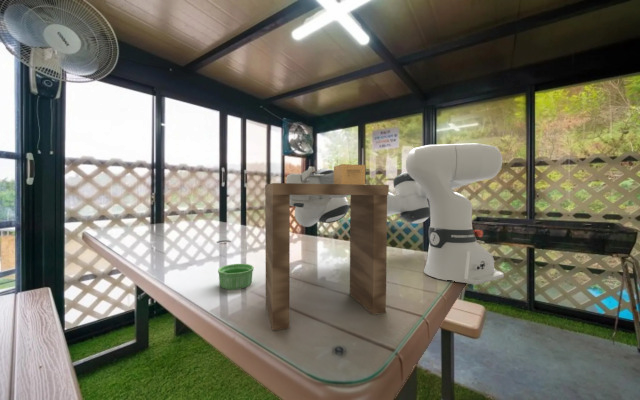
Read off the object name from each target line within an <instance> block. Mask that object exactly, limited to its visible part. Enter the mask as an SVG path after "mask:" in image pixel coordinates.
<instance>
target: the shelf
mask: <svg viewBox="0 0 640 400" xmlns="http://www.w3.org/2000/svg"><path fill="white" fill-rule="evenodd" d="M389 188H390V186H389V184H366V185H355V184H297V183H286V182H284V183H283V182H271V183H267V184H265V187H264V189H265V190H264V191H265V192H264V193H265V307H266V308H265V309H266V311H267V315H268V319H269V323H270V326H271V330H272V331H273V332H275V331H279V330H284V329H285V330H286V329H290V275H291V274H290V273H291V272H290V265H291V264H290V256H291V254H290V253H291V252H290V251H291V250H290V246H291V245H290V243H291V242H290V240H291V238H290V237H291V235H290V228H291V225H290V224H291V223H290V219H291V217H290V215H291V213H290V211H291V210H290V209H291V208H290V207H291V206H290V195H349V196H350V197H349V198H350V199H349V200H350V204H349V206H350V208H349V213H350V214H349V215H350V216H349V217H350V218H349V222H350V225H349V230H350V231H349V295H350V296H351V297H352V298H354V299H355V300H356V301H357V302H358V303H359V304H360V305H361V306H363V307H364V308H365V309H366V310H367V311H368V312H369V313H370V314H372V315H378V314H383V313H385V314H386V313H387V245H388V244H387V242H388V241H387V240H388V239H387V238H388V232H387V231H388V217H387V195H389V193H390V191H389V190H390V189H389Z"/></svg>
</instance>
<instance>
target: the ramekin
mask: <svg viewBox="0 0 640 400" xmlns="http://www.w3.org/2000/svg"><path fill="white" fill-rule="evenodd" d="M253 271H254V266H253V265H251V264H248V263H233V264H227V265H224V266H220V267H219V268H218V270H217V272H218V276H219V277H218V280H219V286H220V287H221V288H222V289H224V288H225V290H239V289H244V288H247V287H249V286H250V285H251V284H252V282H253Z"/></svg>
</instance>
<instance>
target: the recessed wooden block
mask: <svg viewBox="0 0 640 400" xmlns="http://www.w3.org/2000/svg"><path fill="white" fill-rule="evenodd" d="M333 170H334V173H330V174H326V175H322V176H320V183H321V184H355V185H365V184H366V164H349V163H348V164H346V163H345V164H344V163H342V164H338V165H335V166H333Z"/></svg>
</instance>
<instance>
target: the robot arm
mask: <svg viewBox="0 0 640 400" xmlns="http://www.w3.org/2000/svg"><path fill="white" fill-rule="evenodd" d="M502 166H503V156H502V153H501V151H500V150H499V148H498V147H497V146H495V145H490V144H485V143H483V144H482V143H449V144H427V145H423V146H419V147H413V149H411V150H410V151H409V153H408V154H407V156H406V160H405V169H406V172H402V173H400V174H398V175H397V176H396V177H395V178H393V180H392V181H393V182H392V183H393V188H394V191H395V194H393V193H392V192H389V195H387V218H388V217H390V216H393V215H395V214H396V215H397V214H399V219H403V220H404V221H405V222H407V223H409V224H421V223H424V222H425V221H426V220H428V219H430V224H429V225H430V226H429V227H428V240H429V245H428V251H427V257H426V261H425V267H424V269H423V273H424V274H425V275H428V276H430V277H431V278H432V277H433V278H435V279H439V280H441V281H447V280H454V281H455V282H456V283H465V284H470V285H474V286H478V285H481V284H485V283H488V282H491V281H494V280H498V279H502V278H504V277H505V275H504V274H505V273H504V272H502V271H501V270H498V269H495V260H494V256H493V254H491V252H489V251H488V250H487V249H485V248H484V246H482V245H481V244H480V243H478V241H477V238H476V237H479V238H483V235H484V231H483V230H482V229H473V225H472V223H473V205H472V202H471V201H470V199H469V198H468V197H466V196H465V195H463V194H461V193H459V192H456V191H454V190H455V189H458V188H462V187H464V186H468V185H470V184H473V183H477V182H480V181H481V182H482V181H486V180H491V179H493V178H495V177H496V176H497V175H498V174H499V173H500V172H501V169H502V168H503V167H502ZM330 173H334V169H331V168H320V169H318V170H316V167H315V166H308V168H307V170H304V171H303V172H302V173H290V174H287V176H286V179H285V180H286V182H285V183H297V184H321V183H320V176H322V175H326V174H330ZM365 185H367V183H365ZM349 196H350V195H290V207H295V209H294V218H295V220H296V222H297V223H298V224H299V225H301V226H302V227H306V228H309V227H312V226H314V225H316V224H317V223H318V222H321V223H325V224H330V223H336V222H339V221H340V220H342V219H343V218H344V217H345V216H346V215H347V214H348V213H349V211H350V204H349V201H348V198H347V197H349ZM454 281H453V282H454Z"/></svg>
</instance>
